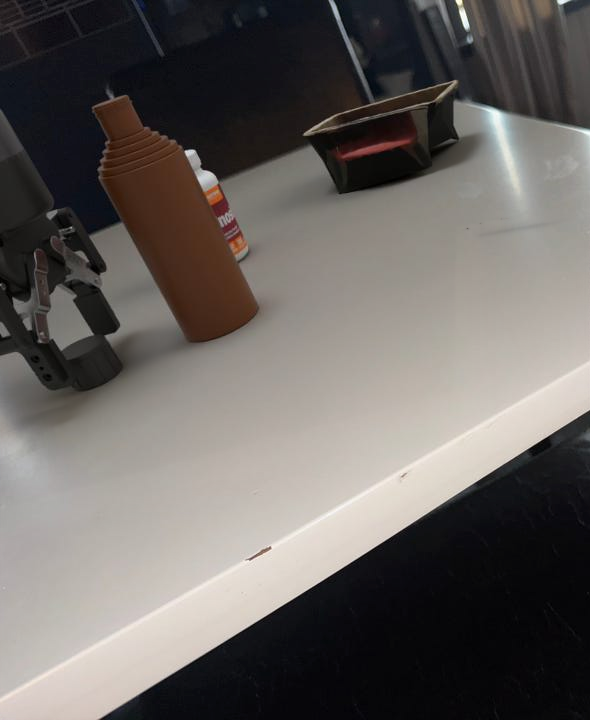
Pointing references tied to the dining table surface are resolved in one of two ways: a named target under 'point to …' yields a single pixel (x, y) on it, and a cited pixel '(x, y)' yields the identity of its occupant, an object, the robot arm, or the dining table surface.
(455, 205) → the dining table surface
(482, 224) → the dining table surface
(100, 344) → the cap
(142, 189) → the sauce bottle
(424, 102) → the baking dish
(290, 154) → the dining table surface
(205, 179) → the pill bottle
